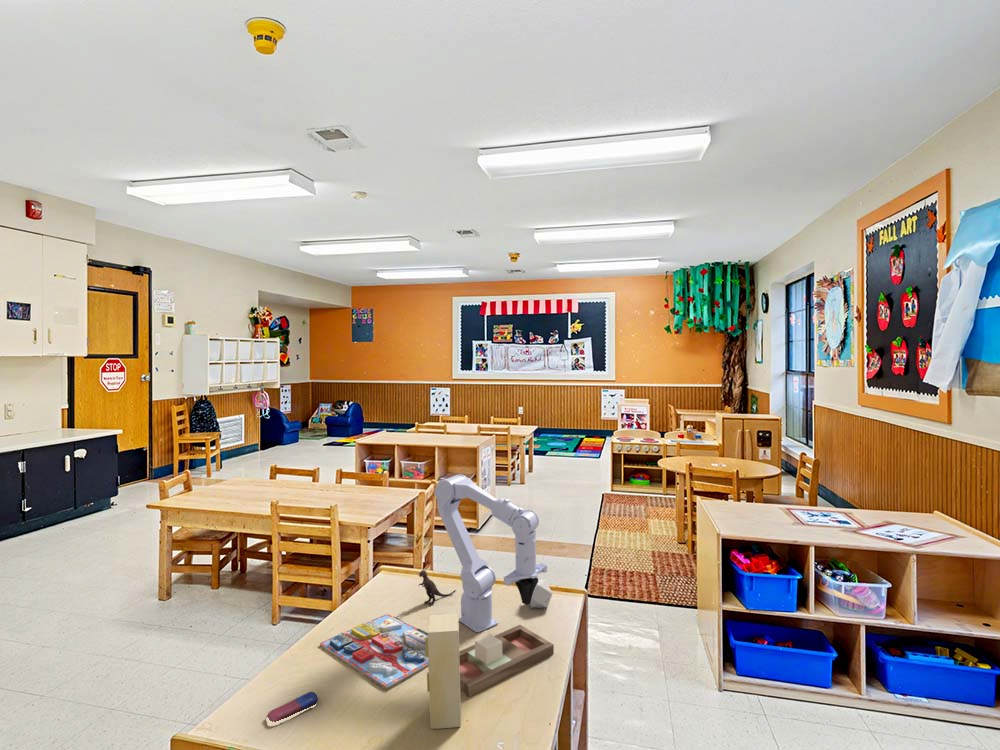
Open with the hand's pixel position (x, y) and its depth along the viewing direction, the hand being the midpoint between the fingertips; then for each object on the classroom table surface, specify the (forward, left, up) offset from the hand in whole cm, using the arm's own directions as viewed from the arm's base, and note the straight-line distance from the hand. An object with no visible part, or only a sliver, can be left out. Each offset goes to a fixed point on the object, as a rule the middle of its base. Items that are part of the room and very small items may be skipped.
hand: (526, 603), depth 149 cm
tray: (+5, -14, -9) cm, 18 cm away
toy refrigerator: (+13, -36, -10) cm, 39 cm away
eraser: (-10, -61, -10) cm, 63 cm away
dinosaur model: (-35, -7, -10) cm, 37 cm away
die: (-11, +15, -10) cm, 21 cm away
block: (+5, -17, -7) cm, 19 cm away
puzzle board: (-20, -33, -10) cm, 40 cm away
